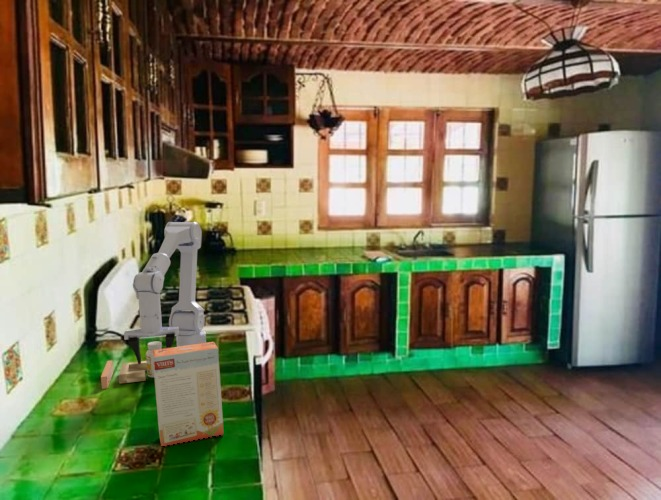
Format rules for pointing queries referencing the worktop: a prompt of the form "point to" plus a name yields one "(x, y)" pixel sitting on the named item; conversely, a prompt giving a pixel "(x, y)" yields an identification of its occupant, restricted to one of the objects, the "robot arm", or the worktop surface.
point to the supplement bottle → (151, 356)
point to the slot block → (133, 372)
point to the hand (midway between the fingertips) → (153, 361)
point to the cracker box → (188, 393)
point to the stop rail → (107, 374)
